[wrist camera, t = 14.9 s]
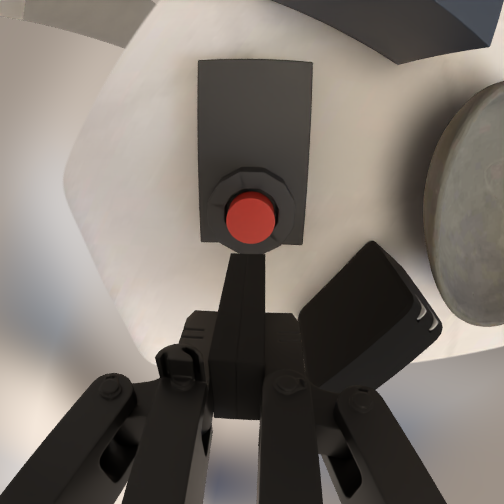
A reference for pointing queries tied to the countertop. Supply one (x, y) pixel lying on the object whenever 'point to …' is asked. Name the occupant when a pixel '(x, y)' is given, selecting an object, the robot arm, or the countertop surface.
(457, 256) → the bowl
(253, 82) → the push button box
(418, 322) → the electronic device
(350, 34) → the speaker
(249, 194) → the red button
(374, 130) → the countertop surface
